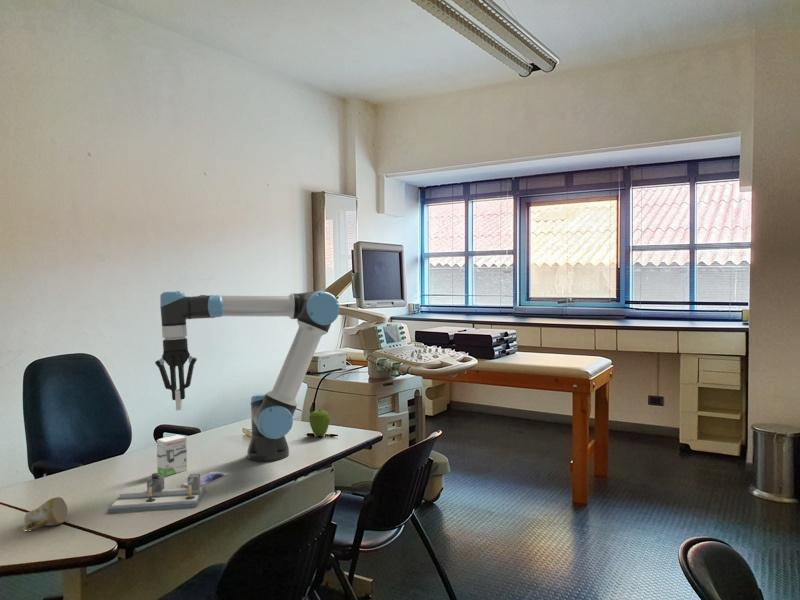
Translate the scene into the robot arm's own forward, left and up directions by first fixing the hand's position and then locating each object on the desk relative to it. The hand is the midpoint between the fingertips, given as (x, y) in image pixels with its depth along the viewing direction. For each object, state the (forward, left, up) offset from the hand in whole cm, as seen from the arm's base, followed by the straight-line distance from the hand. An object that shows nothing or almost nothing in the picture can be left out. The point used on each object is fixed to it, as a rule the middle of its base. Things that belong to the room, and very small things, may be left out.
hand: (179, 409), depth 190 cm
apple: (-46, -44, -23) cm, 67 cm away
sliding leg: (+3, +21, -21) cm, 29 cm away
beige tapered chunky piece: (+28, +33, -23) cm, 49 cm away
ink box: (+4, -7, -23) cm, 25 cm away
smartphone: (-9, +4, -24) cm, 25 cm away
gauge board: (+1, +21, -23) cm, 31 cm away
